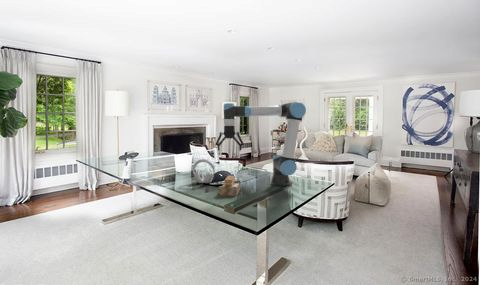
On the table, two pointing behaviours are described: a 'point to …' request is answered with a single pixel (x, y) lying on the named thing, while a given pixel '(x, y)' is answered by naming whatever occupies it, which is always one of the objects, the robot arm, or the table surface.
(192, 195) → the table surface
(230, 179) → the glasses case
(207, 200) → the table surface
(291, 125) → the robot arm
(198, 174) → the headphones
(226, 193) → the stand
